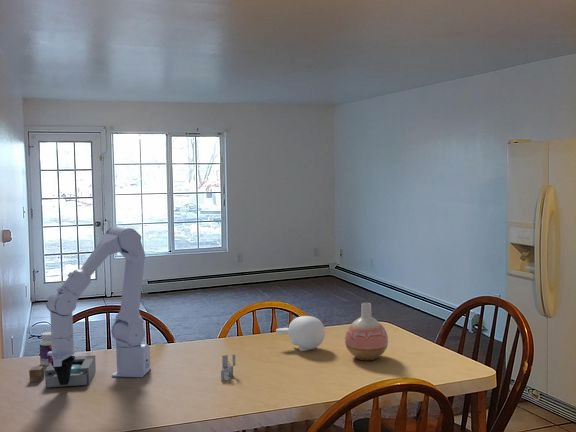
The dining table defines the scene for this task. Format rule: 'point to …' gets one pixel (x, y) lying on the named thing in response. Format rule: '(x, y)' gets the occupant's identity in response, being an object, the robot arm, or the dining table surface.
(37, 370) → the brown rectangular block
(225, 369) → the architectural model
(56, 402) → the dining table surface
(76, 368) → the teal rounded dome
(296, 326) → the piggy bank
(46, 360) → the pill bottle
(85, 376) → the tray
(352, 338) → the vase
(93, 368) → the grey drawer housing
